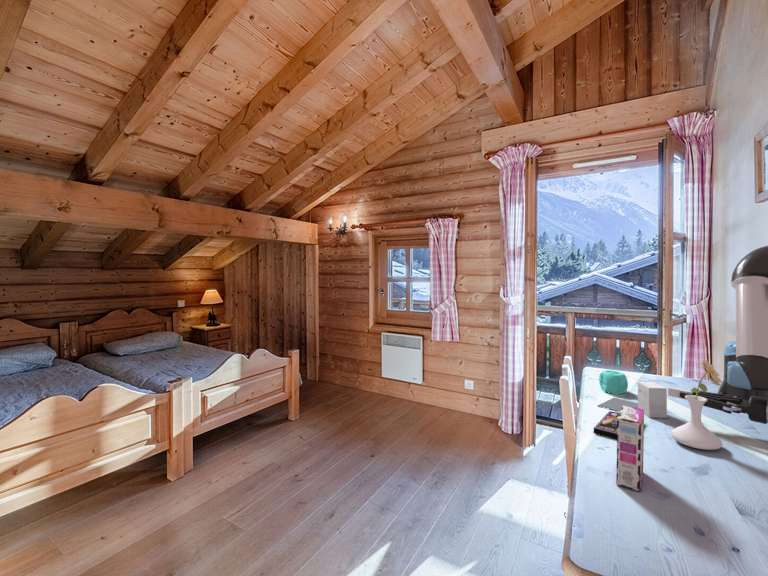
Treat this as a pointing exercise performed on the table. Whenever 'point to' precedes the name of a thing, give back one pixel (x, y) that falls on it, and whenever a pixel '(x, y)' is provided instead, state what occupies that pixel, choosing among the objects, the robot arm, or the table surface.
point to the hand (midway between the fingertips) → (669, 391)
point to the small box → (652, 399)
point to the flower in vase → (698, 417)
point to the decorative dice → (613, 382)
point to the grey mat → (618, 404)
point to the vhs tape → (608, 425)
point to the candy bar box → (630, 447)
